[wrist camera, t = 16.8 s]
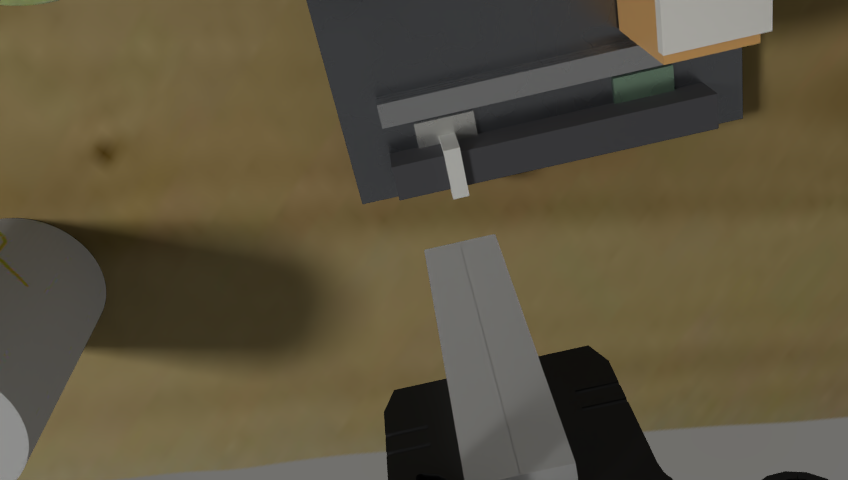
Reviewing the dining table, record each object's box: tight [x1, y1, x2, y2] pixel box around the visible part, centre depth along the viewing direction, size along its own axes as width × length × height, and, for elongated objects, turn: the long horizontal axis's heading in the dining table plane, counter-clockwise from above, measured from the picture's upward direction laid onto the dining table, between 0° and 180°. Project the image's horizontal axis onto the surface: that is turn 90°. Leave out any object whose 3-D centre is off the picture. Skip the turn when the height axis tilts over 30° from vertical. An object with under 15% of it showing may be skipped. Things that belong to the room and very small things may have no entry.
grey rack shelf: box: [390, 83, 719, 200], centre depth 36 cm, size 16×16×2 cm
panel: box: [307, 0, 743, 204], centre depth 37 cm, size 16×20×3 cm
